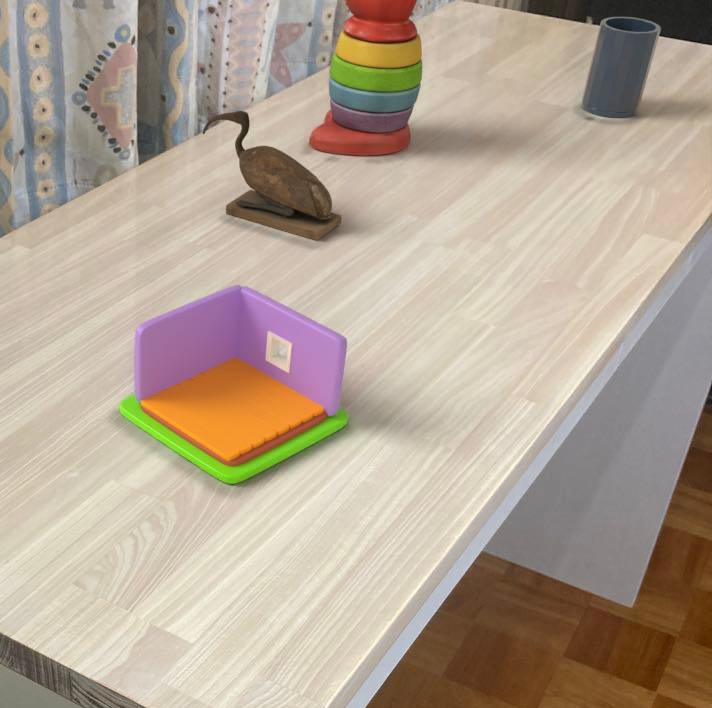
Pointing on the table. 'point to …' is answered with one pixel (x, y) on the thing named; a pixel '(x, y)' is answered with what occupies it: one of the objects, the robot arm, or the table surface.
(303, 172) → the figurine
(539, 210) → the table surface
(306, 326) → the miniature room corner
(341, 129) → the stacking bear
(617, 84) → the cup
